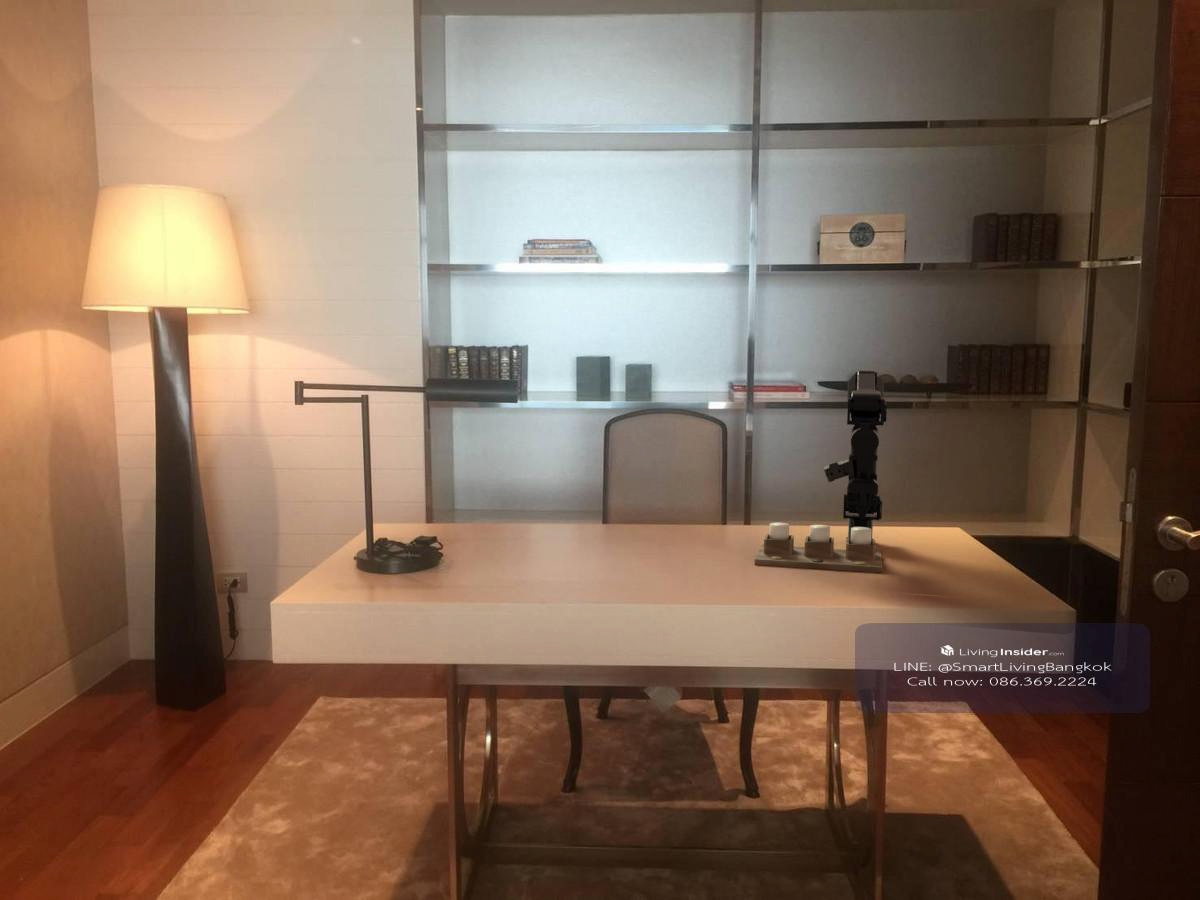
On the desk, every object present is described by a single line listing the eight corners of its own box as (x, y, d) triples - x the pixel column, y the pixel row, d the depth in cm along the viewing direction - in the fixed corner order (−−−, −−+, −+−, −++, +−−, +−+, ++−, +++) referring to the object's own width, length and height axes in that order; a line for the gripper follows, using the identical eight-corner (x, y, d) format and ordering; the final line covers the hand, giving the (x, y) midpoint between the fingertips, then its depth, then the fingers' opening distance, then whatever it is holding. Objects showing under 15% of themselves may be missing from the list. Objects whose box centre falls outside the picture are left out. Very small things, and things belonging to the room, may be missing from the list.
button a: (850, 543, 213) (851, 526, 213) (870, 544, 212) (871, 527, 211) (850, 547, 209) (850, 530, 208) (870, 549, 208) (871, 531, 207)
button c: (770, 539, 218) (770, 522, 217) (789, 540, 217) (789, 523, 216) (768, 543, 214) (768, 525, 213) (788, 544, 212) (788, 526, 212)
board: (761, 549, 222) (761, 531, 222) (880, 556, 215) (881, 537, 215) (754, 564, 208) (755, 544, 208) (881, 572, 201) (882, 552, 201)
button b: (809, 541, 215) (810, 524, 215) (829, 542, 214) (830, 525, 214) (808, 545, 211) (809, 528, 211) (829, 546, 210) (829, 529, 210)
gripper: (827, 443, 219) (825, 509, 221) (825, 453, 201) (822, 525, 203) (877, 445, 216) (875, 512, 218) (879, 455, 198) (876, 528, 200)
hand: (861, 519), depth 210 cm, fingers closed
